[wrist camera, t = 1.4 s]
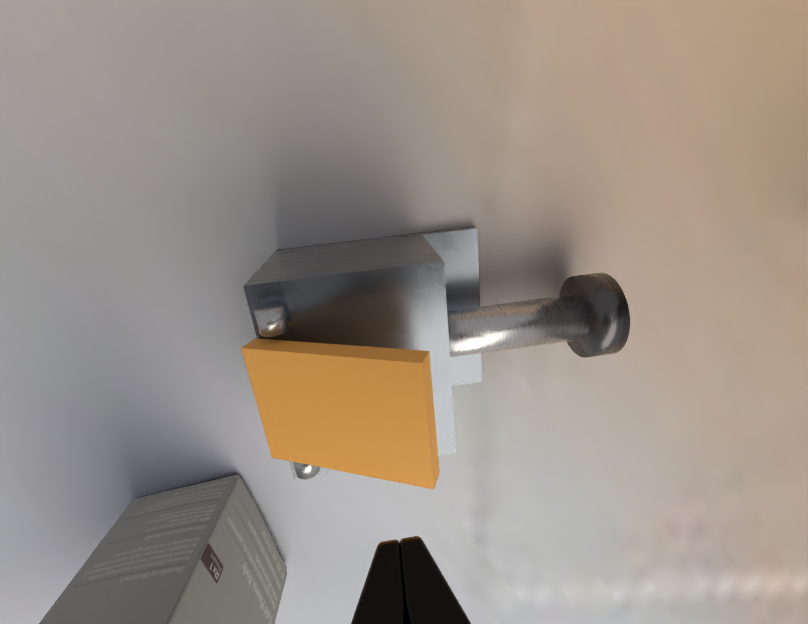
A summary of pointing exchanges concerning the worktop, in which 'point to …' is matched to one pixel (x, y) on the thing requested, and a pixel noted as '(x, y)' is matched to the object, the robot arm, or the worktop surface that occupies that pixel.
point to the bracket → (376, 305)
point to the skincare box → (180, 563)
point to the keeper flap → (347, 407)
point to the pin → (548, 321)
